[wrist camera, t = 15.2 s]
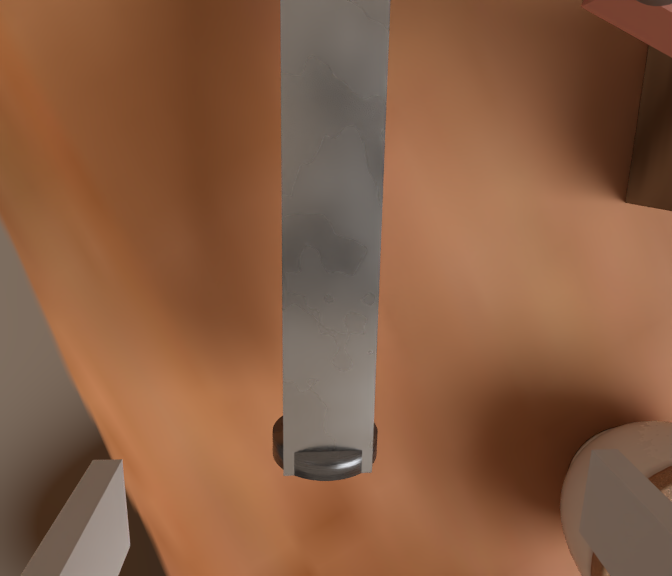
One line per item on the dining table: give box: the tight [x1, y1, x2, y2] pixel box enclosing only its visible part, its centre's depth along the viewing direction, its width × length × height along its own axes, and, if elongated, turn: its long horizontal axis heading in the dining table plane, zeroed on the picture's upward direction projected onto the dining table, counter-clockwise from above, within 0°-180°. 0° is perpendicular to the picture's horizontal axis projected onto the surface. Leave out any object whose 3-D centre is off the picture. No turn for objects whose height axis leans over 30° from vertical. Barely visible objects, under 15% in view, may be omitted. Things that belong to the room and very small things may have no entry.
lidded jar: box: [560, 421, 672, 576], centre depth 29 cm, size 11×11×9 cm
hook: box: [273, 0, 390, 481], centre depth 20 cm, size 20×4×6 cm, turn 179°
